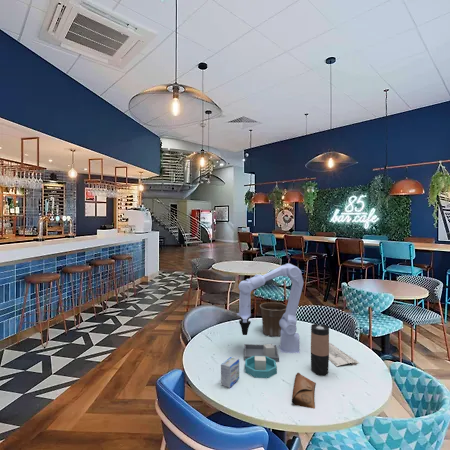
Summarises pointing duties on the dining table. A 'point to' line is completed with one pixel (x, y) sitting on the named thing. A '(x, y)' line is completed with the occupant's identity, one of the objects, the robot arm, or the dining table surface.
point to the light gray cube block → (269, 350)
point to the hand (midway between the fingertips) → (244, 331)
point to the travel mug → (319, 349)
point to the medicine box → (230, 372)
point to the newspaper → (339, 356)
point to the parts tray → (258, 351)
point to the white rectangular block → (260, 363)
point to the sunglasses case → (303, 392)
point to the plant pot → (272, 318)
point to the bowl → (270, 370)
